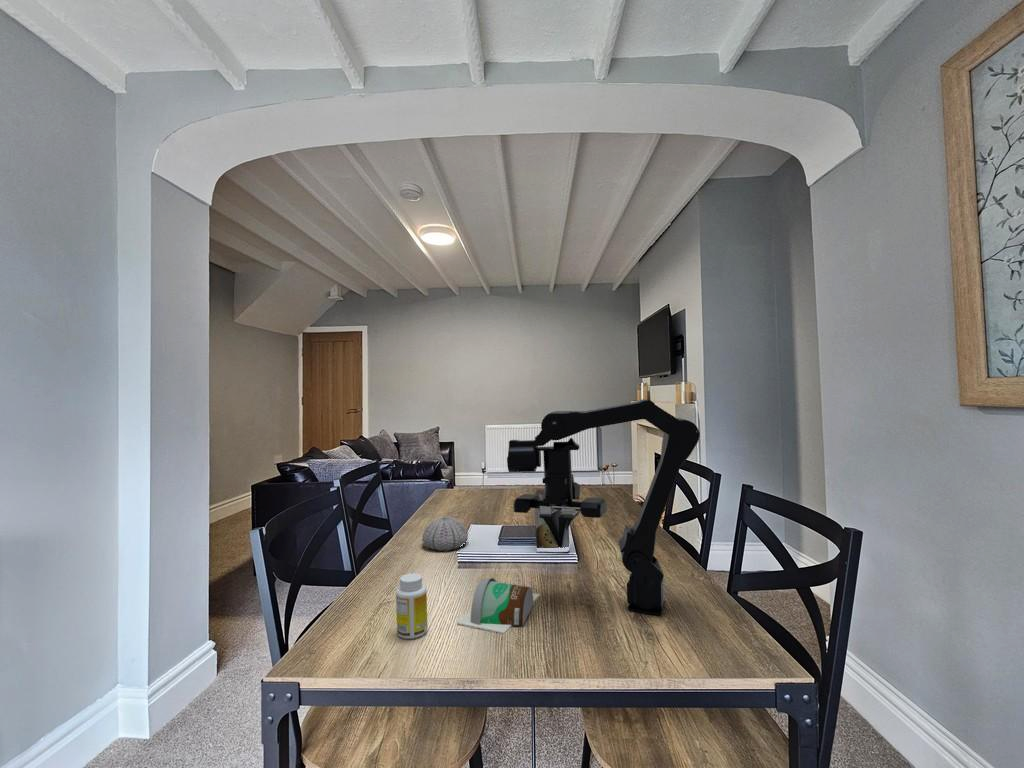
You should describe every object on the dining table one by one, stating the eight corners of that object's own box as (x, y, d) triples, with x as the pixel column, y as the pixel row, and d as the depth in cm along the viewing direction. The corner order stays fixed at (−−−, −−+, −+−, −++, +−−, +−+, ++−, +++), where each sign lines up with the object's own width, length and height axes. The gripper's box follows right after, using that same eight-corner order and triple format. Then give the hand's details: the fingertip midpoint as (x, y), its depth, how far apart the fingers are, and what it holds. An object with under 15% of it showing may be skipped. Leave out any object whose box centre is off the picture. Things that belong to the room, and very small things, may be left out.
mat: (540, 595, 106) (540, 594, 106) (504, 634, 90) (504, 632, 90) (498, 588, 110) (498, 587, 110) (456, 624, 94) (456, 622, 94)
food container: (520, 595, 91) (469, 591, 94) (520, 629, 91) (469, 623, 94) (534, 571, 103) (488, 568, 105) (534, 601, 103) (489, 597, 105)
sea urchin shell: (452, 536, 152) (452, 510, 152) (477, 546, 141) (477, 518, 141) (413, 545, 143) (413, 517, 143) (437, 557, 133) (436, 527, 133)
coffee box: (569, 546, 139) (568, 489, 140) (569, 553, 133) (567, 493, 133) (537, 545, 141) (536, 488, 141) (535, 552, 134) (534, 493, 134)
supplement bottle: (428, 624, 94) (427, 570, 94) (426, 639, 89) (425, 582, 89) (398, 626, 94) (397, 572, 94) (394, 641, 88) (393, 584, 88)
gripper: (610, 466, 106) (614, 539, 106) (530, 464, 114) (533, 532, 114) (598, 475, 96) (601, 555, 96) (511, 472, 104) (514, 547, 104)
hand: (561, 546), depth 103 cm, fingers closed
